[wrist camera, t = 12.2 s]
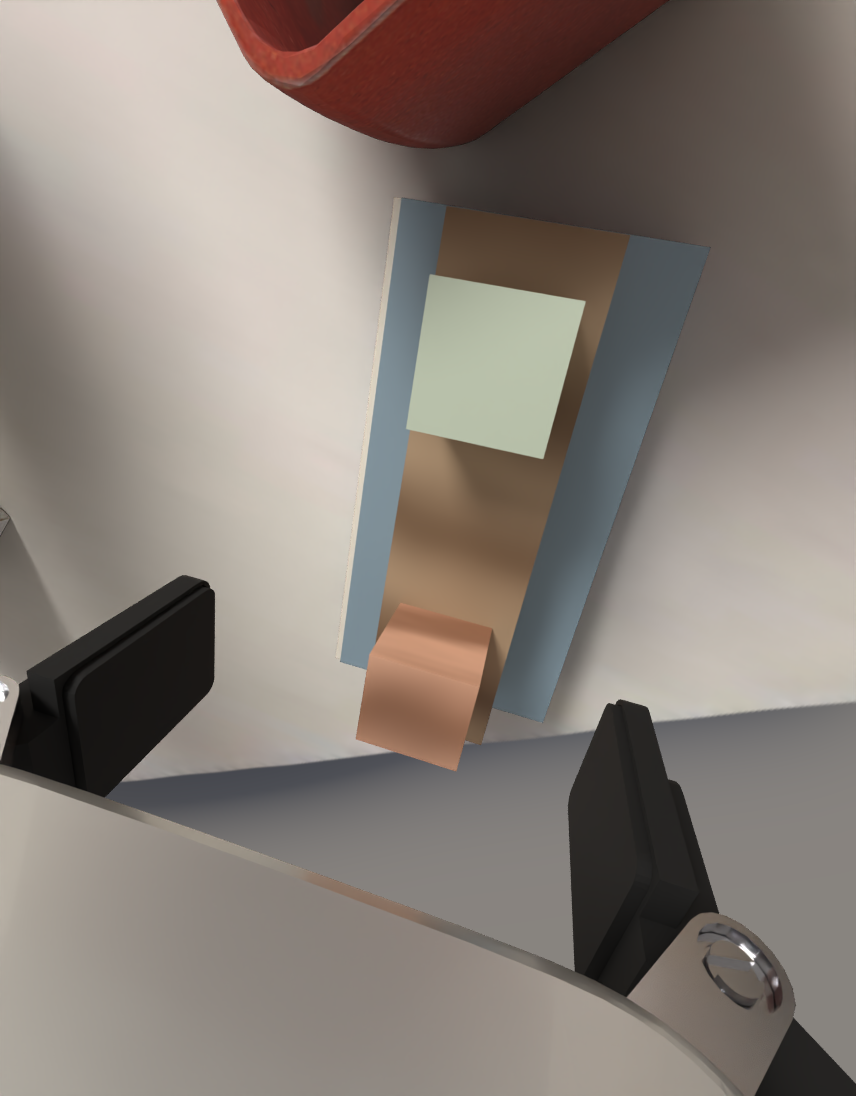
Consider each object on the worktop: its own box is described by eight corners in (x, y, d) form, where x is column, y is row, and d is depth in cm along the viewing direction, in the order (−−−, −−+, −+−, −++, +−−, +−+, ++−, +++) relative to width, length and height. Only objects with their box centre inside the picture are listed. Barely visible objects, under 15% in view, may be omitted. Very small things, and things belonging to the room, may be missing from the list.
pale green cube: (456, 291, 19) (429, 274, 15) (577, 312, 18) (585, 301, 14) (435, 413, 20) (405, 428, 16) (544, 436, 20) (542, 459, 16)
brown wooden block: (466, 232, 22) (446, 205, 18) (614, 257, 21) (630, 235, 17) (389, 661, 31) (364, 708, 27) (490, 691, 30) (480, 745, 26)
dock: (415, 218, 26) (392, 196, 22) (686, 263, 24) (710, 247, 20) (356, 628, 35) (334, 659, 32) (543, 682, 34) (542, 722, 30)
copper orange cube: (400, 602, 24) (369, 654, 20) (492, 628, 23) (479, 687, 19) (386, 677, 26) (355, 739, 22) (471, 703, 25) (456, 771, 21)
